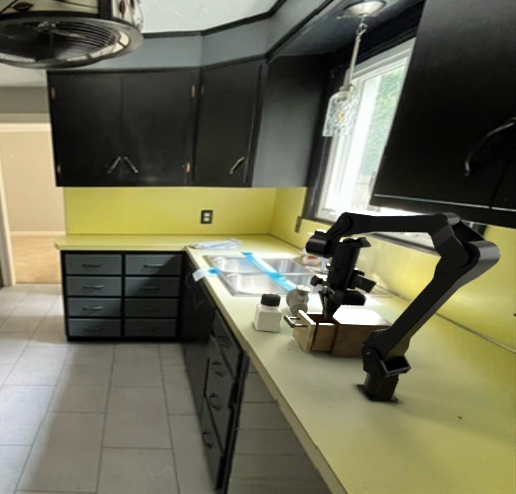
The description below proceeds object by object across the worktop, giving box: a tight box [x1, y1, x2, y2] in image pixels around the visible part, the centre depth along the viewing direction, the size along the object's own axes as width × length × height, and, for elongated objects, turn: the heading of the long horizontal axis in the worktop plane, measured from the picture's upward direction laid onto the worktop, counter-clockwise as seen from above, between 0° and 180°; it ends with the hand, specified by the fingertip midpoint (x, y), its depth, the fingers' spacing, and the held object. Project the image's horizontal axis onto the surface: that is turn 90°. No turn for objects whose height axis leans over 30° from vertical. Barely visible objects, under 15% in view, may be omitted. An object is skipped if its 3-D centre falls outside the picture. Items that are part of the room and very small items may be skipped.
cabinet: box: [321, 308, 393, 359], centre depth 110 cm, size 15×13×11 cm
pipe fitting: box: [285, 284, 311, 317], centre depth 139 cm, size 12×8×10 cm
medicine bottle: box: [253, 292, 283, 333], centre depth 124 cm, size 7×7×12 cm
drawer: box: [282, 311, 339, 353], centre depth 111 cm, size 18×11×9 cm, turn 84°
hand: (327, 319), depth 99 cm, fingers closed
